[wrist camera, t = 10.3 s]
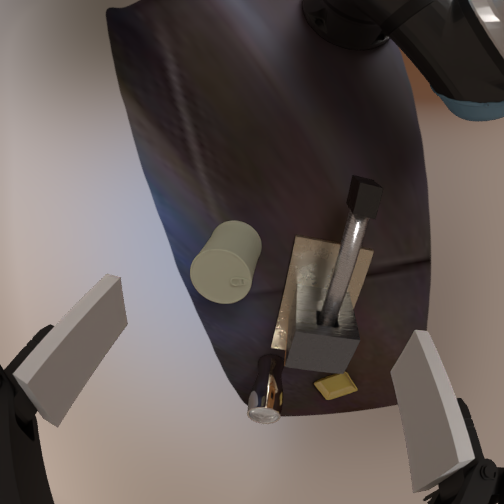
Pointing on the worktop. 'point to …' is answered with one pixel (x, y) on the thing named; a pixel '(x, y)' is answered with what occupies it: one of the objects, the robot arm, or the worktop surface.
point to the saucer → (335, 385)
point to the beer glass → (267, 391)
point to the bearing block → (318, 308)
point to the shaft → (350, 244)
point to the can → (227, 263)
